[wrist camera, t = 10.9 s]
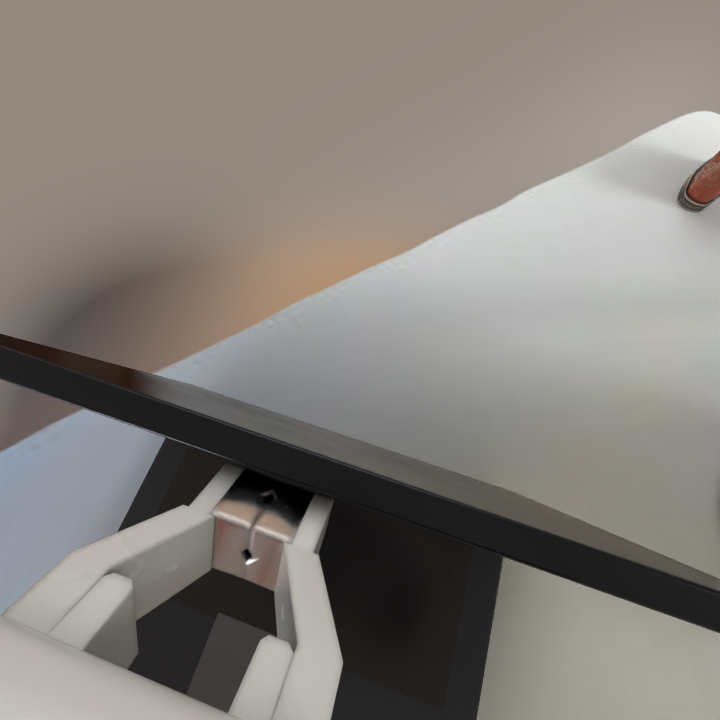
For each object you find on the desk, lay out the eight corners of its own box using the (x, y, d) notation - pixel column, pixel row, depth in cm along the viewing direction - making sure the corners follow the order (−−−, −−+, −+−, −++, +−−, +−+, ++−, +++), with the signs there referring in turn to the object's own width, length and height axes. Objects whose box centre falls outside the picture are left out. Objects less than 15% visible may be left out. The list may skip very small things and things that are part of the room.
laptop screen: (865, 691, 7) (867, 640, 7) (-169, 324, 9) (-149, 293, 10) (512, 505, 24) (515, 492, 25) (186, 395, 27) (191, 384, 27)
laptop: (446, 827, 20) (454, 860, 18) (67, 661, 23) (42, 675, 21) (502, 504, 26) (512, 505, 24) (196, 401, 29) (186, 395, 27)
